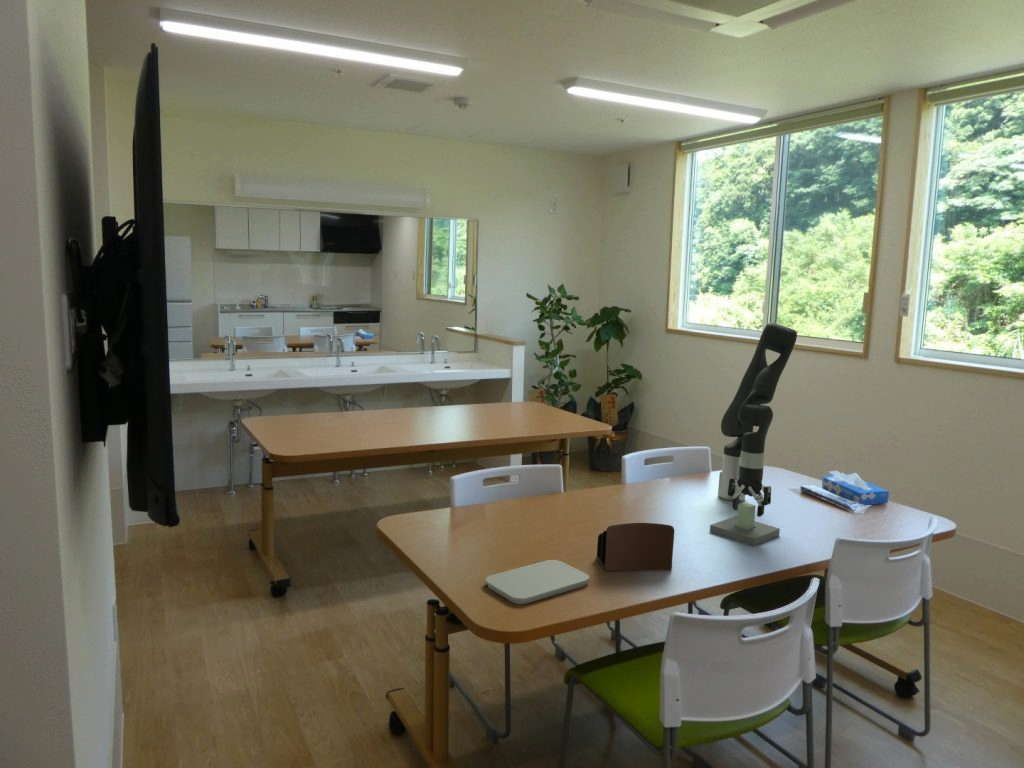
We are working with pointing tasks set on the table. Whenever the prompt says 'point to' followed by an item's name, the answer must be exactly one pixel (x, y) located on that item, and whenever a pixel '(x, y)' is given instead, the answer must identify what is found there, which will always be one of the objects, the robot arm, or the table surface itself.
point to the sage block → (745, 516)
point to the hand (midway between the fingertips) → (747, 512)
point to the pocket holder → (744, 531)
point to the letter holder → (636, 547)
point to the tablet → (536, 581)
